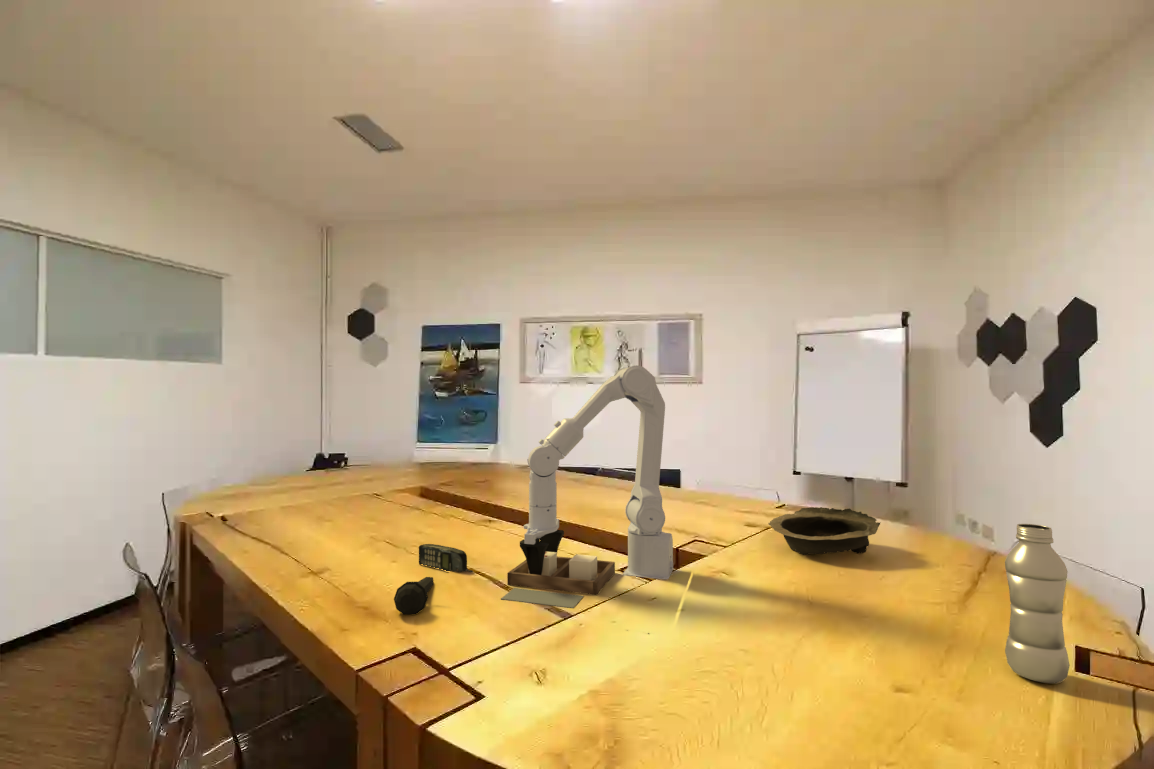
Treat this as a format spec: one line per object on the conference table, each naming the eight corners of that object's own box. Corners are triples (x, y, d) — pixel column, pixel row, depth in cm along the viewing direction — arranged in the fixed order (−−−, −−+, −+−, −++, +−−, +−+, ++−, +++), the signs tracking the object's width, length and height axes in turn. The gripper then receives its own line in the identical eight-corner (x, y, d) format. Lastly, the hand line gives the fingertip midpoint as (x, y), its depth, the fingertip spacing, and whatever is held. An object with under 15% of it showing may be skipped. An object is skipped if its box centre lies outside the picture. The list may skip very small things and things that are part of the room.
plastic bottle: (993, 667, 76) (990, 521, 76) (1038, 664, 76) (1035, 520, 77) (1035, 691, 69) (1032, 533, 70) (1084, 689, 70) (1081, 532, 70)
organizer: (614, 575, 115) (614, 561, 115) (597, 597, 102) (597, 582, 102) (533, 566, 121) (533, 554, 121) (507, 587, 108) (507, 572, 108)
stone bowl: (883, 545, 138) (883, 509, 137) (876, 581, 117) (876, 538, 116) (781, 531, 151) (780, 497, 151) (758, 560, 130) (757, 522, 129)
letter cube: (556, 574, 114) (556, 551, 115) (549, 580, 110) (549, 557, 110) (536, 572, 116) (536, 550, 116) (528, 578, 112) (528, 555, 112)
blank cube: (597, 578, 112) (597, 556, 112) (591, 585, 107) (590, 562, 108) (576, 576, 113) (576, 554, 113) (569, 583, 109) (569, 560, 109)
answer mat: (583, 599, 102) (583, 595, 102) (573, 611, 96) (573, 607, 96) (514, 590, 106) (514, 587, 106) (500, 601, 100) (500, 598, 100)
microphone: (422, 597, 112) (395, 624, 92) (414, 569, 112) (386, 590, 93) (448, 588, 112) (427, 613, 92) (440, 560, 113) (418, 580, 93)
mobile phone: (416, 544, 123) (465, 552, 115) (426, 541, 125) (475, 549, 117) (416, 566, 122) (465, 576, 114) (426, 563, 125) (475, 572, 117)
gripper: (538, 497, 122) (537, 559, 121) (510, 510, 108) (510, 579, 107) (568, 499, 119) (568, 562, 119) (543, 512, 106) (543, 583, 105)
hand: (542, 570), depth 113 cm, fingers open, 7 cm apart
